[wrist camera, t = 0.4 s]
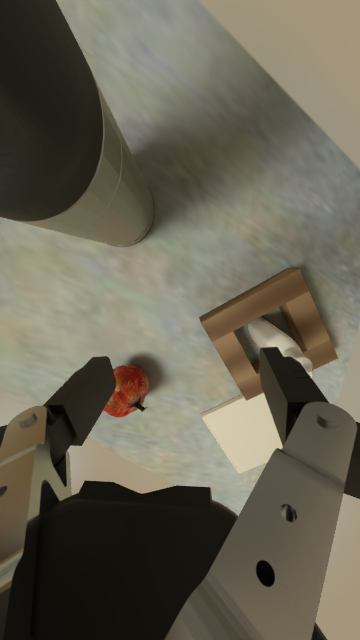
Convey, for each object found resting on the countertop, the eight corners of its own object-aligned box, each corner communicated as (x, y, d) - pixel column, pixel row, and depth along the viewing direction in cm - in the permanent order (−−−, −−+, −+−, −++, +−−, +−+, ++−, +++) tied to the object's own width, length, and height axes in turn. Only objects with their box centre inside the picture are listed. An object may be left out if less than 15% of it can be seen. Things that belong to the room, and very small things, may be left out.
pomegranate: (110, 383, 36) (144, 428, 31) (72, 387, 30) (106, 444, 25) (132, 350, 35) (170, 390, 30) (97, 346, 29) (138, 396, 24)
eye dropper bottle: (276, 313, 30) (334, 344, 19) (277, 348, 32) (331, 397, 20) (246, 317, 30) (284, 350, 19) (249, 352, 32) (285, 403, 20)
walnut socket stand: (199, 317, 30) (200, 322, 28) (288, 268, 28) (299, 268, 25) (241, 389, 33) (246, 400, 31) (323, 349, 31) (338, 358, 28)
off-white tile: (201, 413, 35) (201, 417, 34) (266, 383, 33) (268, 385, 32) (237, 469, 38) (238, 473, 37) (299, 444, 36) (301, 448, 35)
